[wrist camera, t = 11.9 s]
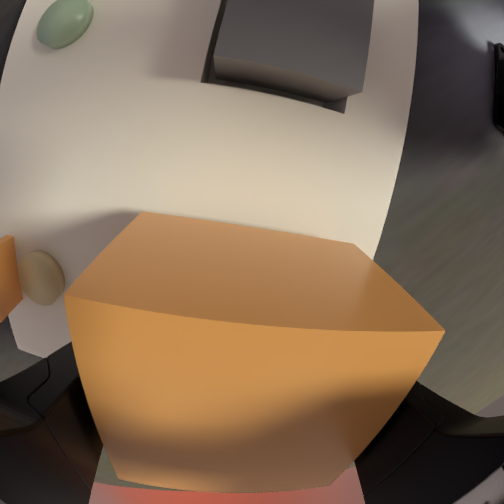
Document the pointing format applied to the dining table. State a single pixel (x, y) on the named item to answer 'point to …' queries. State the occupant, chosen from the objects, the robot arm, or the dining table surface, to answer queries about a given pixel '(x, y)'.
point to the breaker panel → (175, 142)
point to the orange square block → (240, 354)
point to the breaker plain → (296, 46)
